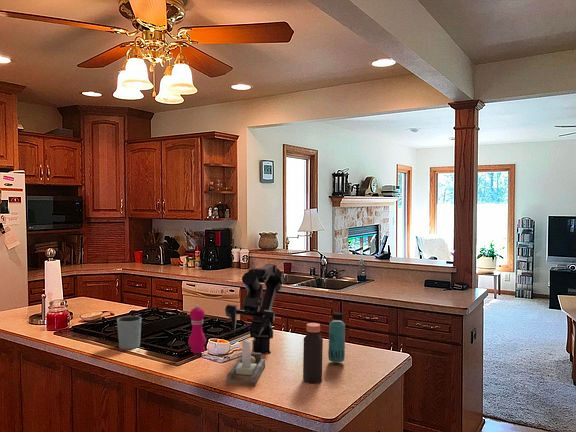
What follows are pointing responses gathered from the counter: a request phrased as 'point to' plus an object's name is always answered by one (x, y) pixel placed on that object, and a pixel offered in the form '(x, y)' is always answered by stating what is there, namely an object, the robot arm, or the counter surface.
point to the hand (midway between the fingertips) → (245, 334)
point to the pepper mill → (197, 330)
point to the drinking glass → (129, 332)
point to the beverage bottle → (336, 339)
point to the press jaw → (246, 360)
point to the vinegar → (312, 354)
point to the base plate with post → (246, 379)
